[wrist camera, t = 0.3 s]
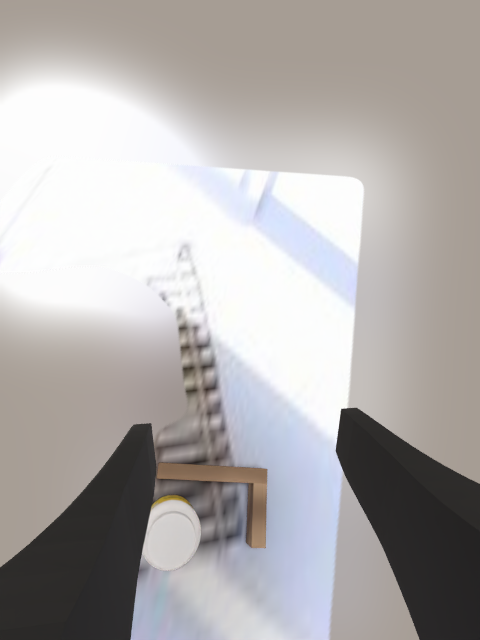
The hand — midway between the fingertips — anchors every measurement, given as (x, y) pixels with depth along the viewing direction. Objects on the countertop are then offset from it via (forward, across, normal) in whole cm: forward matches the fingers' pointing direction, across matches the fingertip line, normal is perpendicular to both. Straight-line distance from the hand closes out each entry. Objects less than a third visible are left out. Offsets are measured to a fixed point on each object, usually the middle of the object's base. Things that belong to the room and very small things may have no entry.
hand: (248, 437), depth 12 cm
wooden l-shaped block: (+18, +2, +24) cm, 30 cm away
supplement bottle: (+16, +6, +25) cm, 30 cm away
